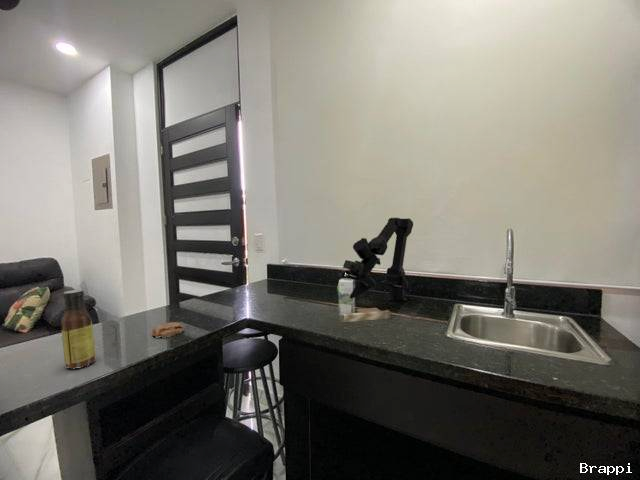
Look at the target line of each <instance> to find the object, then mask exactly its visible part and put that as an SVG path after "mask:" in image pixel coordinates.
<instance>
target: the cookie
mask: <svg viewBox="0 0 640 480" xmlns="http://www.w3.org/2000/svg"><path fill="white" fill-rule="evenodd" d="M182 331H183V332H184V331H185V329H184V326H183V324H182V323H181V322H176V321H171V322H166V323H164V324H163V323H162V324H160V325H158V326H156V327H154V328H153V329H152V331H151V336H152V337H153V336H155V337H158V336H161V337H167V336H171V335H174V334H177V333H181V332H182Z"/></svg>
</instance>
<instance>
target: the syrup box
mask: <svg viewBox="0 0 640 480" xmlns="http://www.w3.org/2000/svg"><path fill="white" fill-rule="evenodd" d="M338 283H339V296H338V315H339V314H350V313H356V301H355V299H356V297H354V298H352V299H351V298H350V295H351V293H352V291H353V290H354V288H355V287H356V281H355V279H341V278H339V281H338Z"/></svg>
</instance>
